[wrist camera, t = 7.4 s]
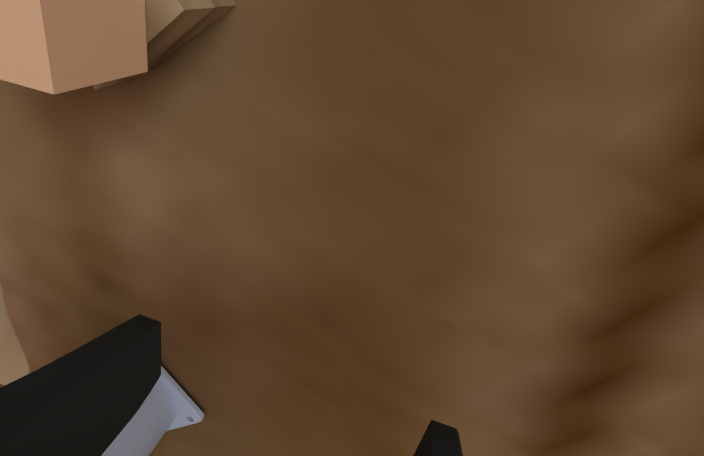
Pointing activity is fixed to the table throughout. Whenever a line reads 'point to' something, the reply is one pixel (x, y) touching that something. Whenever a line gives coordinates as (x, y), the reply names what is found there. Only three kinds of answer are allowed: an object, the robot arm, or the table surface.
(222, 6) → the slab lower
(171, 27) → the slab upper
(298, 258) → the table surface
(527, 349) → the table surface
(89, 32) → the block
